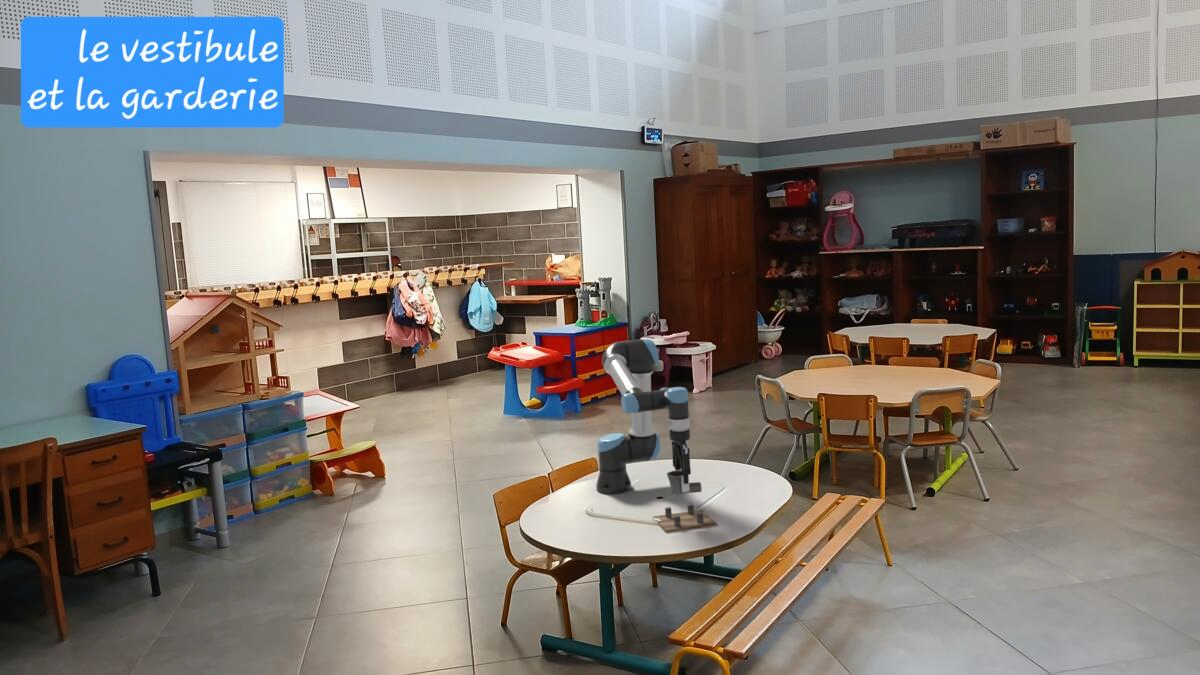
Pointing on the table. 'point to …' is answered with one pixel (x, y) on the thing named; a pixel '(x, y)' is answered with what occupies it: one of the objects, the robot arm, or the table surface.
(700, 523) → the collar cradle
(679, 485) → the pipe
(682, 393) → the robot arm
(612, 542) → the table surface
